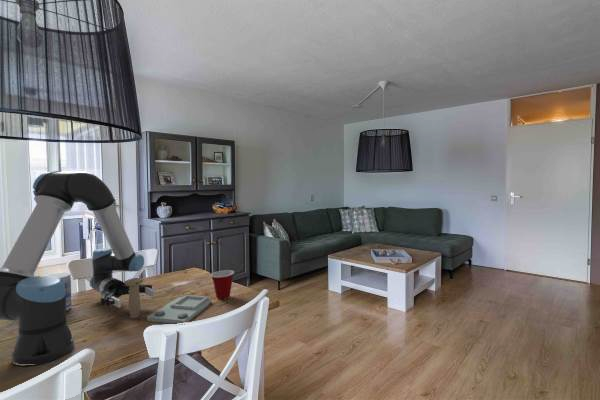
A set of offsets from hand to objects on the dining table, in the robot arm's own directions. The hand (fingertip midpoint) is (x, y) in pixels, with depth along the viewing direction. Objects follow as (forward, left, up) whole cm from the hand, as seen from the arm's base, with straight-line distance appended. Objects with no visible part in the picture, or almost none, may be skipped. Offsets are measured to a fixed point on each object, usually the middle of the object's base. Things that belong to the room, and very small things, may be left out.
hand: (137, 298), depth 124 cm
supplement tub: (0, +38, -8) cm, 39 cm away
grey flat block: (+10, -13, -8) cm, 18 cm away
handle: (+1, +2, -8) cm, 8 cm away
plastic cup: (+28, -23, -8) cm, 37 cm away
